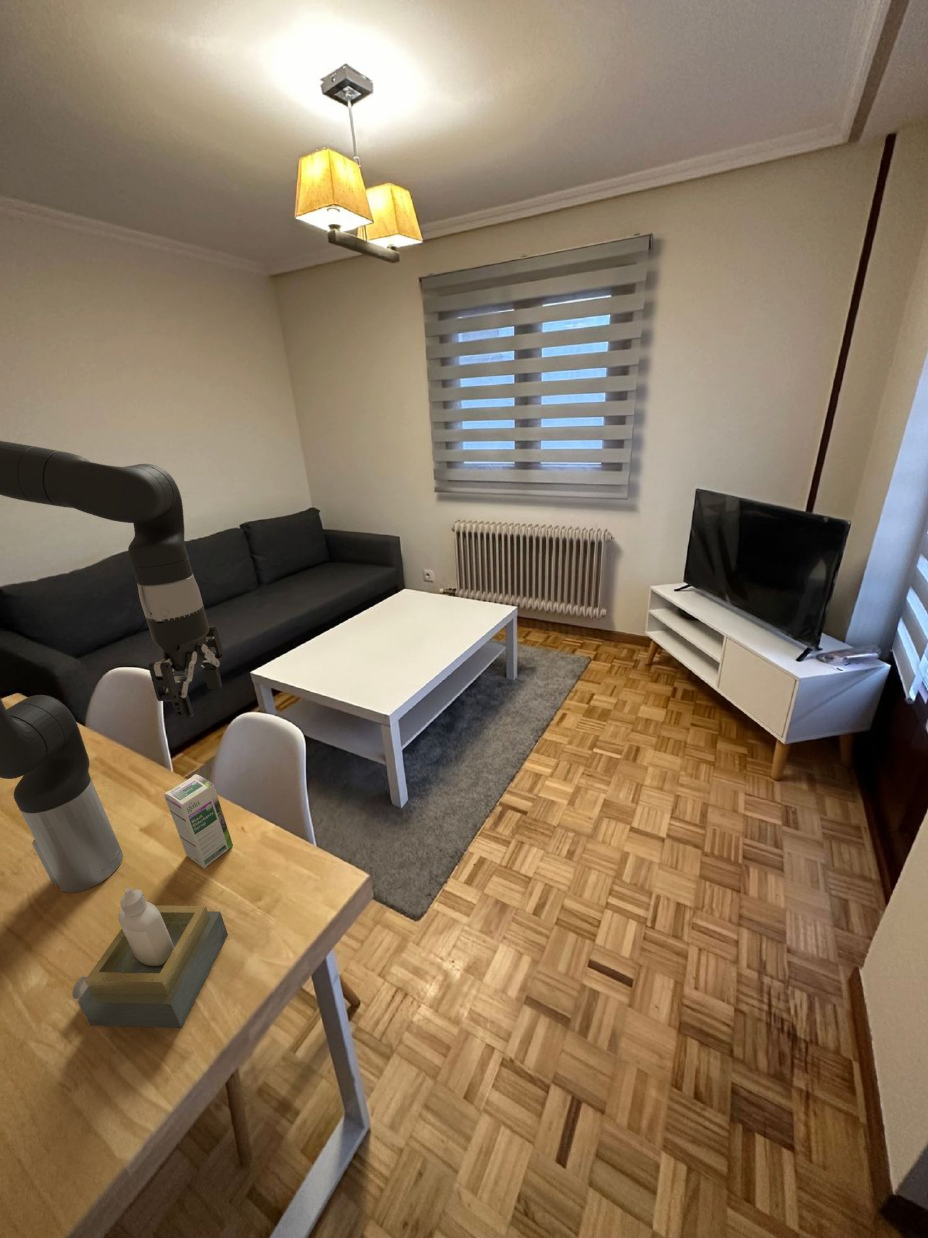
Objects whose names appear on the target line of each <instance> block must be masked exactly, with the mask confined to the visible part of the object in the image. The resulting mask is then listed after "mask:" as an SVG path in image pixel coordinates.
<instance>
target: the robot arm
mask: <svg viewBox="0 0 928 1238" xmlns="http://www.w3.org/2000/svg"><path fill="white" fill-rule="evenodd" d="M0 495H1V496H3V497H7V498H10V499H14V500H19V501H24V502H30V503H35V504H40V505H41V504H43V505H47V506H54V507H61V508H62V507H63V508H69V509H75V510H77V511H80V512H83V513H85V514H88V515H91V516H94V517H98V518H102V519H105V520H108V521H115V522H119V523H126V524H127V523H128V524H133V529H134V536H133V539H132V541H130V543H129V545H128V548H127V553H128V558H129V562H130V563H129V564H130V565H131V568H132V572H133V576H134V578H135V582H136V584H137V591H138V595H139V596H138V597H139V601H140V604H141V608H142V610H143V613H144V616H145V620H146V624H147V626H148V629H149V632H150V635H151V636H150V637H151V639H152V641H153V643H154V644H155V645H157V646H159V647H160V648H161V649H162V659H160V660H159V661H156V662H149V664H148V670H149V675H150V678H151V681H152V686H153V690H154V693H155V696H156V699H157V701H158V702H171V705H172V708H173V711H174V715H175V716H176V717H177V718H178V719H180V720H182V719H183V720H185V719H186V720H187V719H188V720H189V719H191V718H192V717H193V716H194V710H193V707H192V704H191V700H190V697H189V694H188V690H189V689H188V688H189V684H190V683H191V682H192V681H193V676H194V673H195V671H196V670H197V669H198V668H199V667H201V668H203V669H202V673H203V676H204V680H205V684H206V687H207V688H208V689H209V690H219V689H221V688H222V686H223V683H222V677H221V673H220V670H219V667H220V660H221V659H224V657H225V653H224V650H223V645H222V643H221V639H220V636H219V632H218V629H217V627H216V626H215V625H213V626H210V625H209V622H208V619H207V613H206V611H205V610H206V609H205V607H204V603H203V599H202V595H201V592H200V588H199V586H198V583H197V581H196V578H195V576H194V573H193V568H192V566H191V562H190V561H191V560H190V557H189V554H188V550H187V547H186V543H185V521H184V520H185V518H184V508H183V507H184V506H183V505H184V504H183V501H182V496H181V492H180V489H179V487H178V485H177V483H176V480H175V479H174V478H173V477H172V475H171V474H170V473H169V472H167V470H165V469H163V468H162V467H160V466H158V465H156V464H150V463H140V464H133V465H127V466H117V465H116V466H115V465H108V464H102V463H97V462H91V461H90V460H89V459H87V458H85V457H84V456H81V455H80V454H79V455H78V454H75V453H71V452H68V451H67V452H66V451H62V450H56V449H49V448H45V447H38V446H36V445H35V446H33V445H28V444H22V443H16V442H9V441H3V440H0ZM212 648H214V649H215V651H213V650H212ZM175 672H176V673H177V674H183V675H178V676H175ZM177 683H179V689H178V687H177ZM165 688H166V691H165ZM89 769H90V757H89V755H88V752H87V749H86V746H85V743H84V740H83V737H82V732H81V731H80V728H79V725H78V723H77V720H76V718H75V716H74V715H73V714H72V712H71V711H70V709H69V708H68V707H67V706H66V705H65V704H64V703H62V701H60V700H59V699H57V698H55V697H53V696H50V695H44V694H36V695H31V696H28V697H26V698H23V699H22V700H21V701H19V702H17V703H15V704H13V705H12V706H10V707H8V708H6V706H5V705H4V703H3V700H2V699H1V697H0V778H1V779H6V780H13V779H14V780H15V779H18V778H20V780H19V781H18V782H17V785H16V786H15V787H14V791H13V800H14V802H15V803H16V805H17V807H18V809H19V811H20V813H21V816H22V817H23V819H24V821H25V823H26V825H27V826H28V829H29V830H30V833H31V835H32V836H33V837H32V838H34V839H33V841H32V846H33V850H34V851H35V852H36V854H37V856H38V858H39V859H40V863H41V864H42V866H43V868H44V870H45V872H46V873H47V875H48V878H49V879H50V882H51V883H52V884H53V885H58V888H59V889H60V890H61V891H63V892H65V893H79V892H82V891H85V890H88V889H91V888H93V887H95V886H97V885H99V884H101V883H102V882H103V881H105V880H106V879H108V878H109V877H110V876H111V875H112V874H113V873H114V872H115V871H116V870H118V868H119V867H120V865H121V863H122V861H123V858H124V854H123V850H122V848H121V845H120V844H119V841H118V839H117V836H116V834H115V831H114V830H113V827H112V825H111V822H110V820H109V817H108V815H107V812H106V810H105V809H104V805H103V802H102V801H101V798H100V797H99V794H98V791H97V790H96V787H95V785H94V783H93V779H92V777H91V776H90V773H89Z"/></svg>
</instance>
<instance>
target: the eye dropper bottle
mask: <svg viewBox="0 0 928 1238" xmlns="http://www.w3.org/2000/svg"><path fill="white" fill-rule="evenodd" d="M119 904H120V907H121V910H120V911H119V913H118V914H117V915H118V916H117V918H118V919H117V920H118V922H119V924H120V927H121V929H122V930H123V932H124V934H125V936H126V938H127V940H128V943H129V945H130V947H131V949H132V951H133V953H134V955H135V957H136V958H137V960H138V961H139V962H141V963H143V964H145V965H149V966H160V965H162V964H163V963H165V962H166V961H167V959H168V958H169V956H170V955H171V953H172V951H173V950H174V945H173V943H172V940H171V938H170V935H169V933H168V930H167V928H166V926H165V923H164V921H163V919H162V916H161V914H160V912H159V910H158V909H157V908H156V907H155V906H154V904H153V903H151V902H149V901H147V900H146V897H145V896H144V893H143V891H142V890H141V889H132V888H131V887H127V888H126V889H125V890H124V895H123V896H122V898H121V899H120V902H119Z"/></svg>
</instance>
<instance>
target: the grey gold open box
mask: <svg viewBox="0 0 928 1238" xmlns="http://www.w3.org/2000/svg"><path fill="white" fill-rule="evenodd" d="M153 905H154V904H153ZM154 906H155V907H156V908H157V909H158V910H159V912H160V914H161V916H162V919H163V921H164V923H165V926H166V928H167V930H168V933H169V935H170V938H171V940H172V943H173V945H174V950H173V951H172V953H171V955H170V956H169V958H168V959H167V961H166V962H165V963H163V964H162V965H160V966H149V965H145V964H143V963H141V962H139V961H138V960H137V958H136V957H135V955H134V953H133V951H132V949H131V947H130V945H129V943H128V940H127V938H126V936H125V934H124V932H123V930H122V928H121V929H120V930H119V932H118V934H117V935H115V937H114V938H113V940H112V942H111V943H110V945H108V947H107V948H106V950H105V952H104V953H103V954H102V955H101V957H100V959H99V960H98V961H97V962H96V964H95V966H94V967H93V968H92V970H91V971H90V973H89V974H88V975H83V976H81V977H80V978H79V979H78V980H77V981H76V983H75V984H74V986H73V989H72V995H71V996H72V998H73V999H74V1000H78V1001H77V1003H78V1006H79V1008H81V1010H82V1012H83V1014H84V1016H85V1017H86V1019H87V1021H88V1023H89V1025H90V1026H91V1027H93V1026H94V1027H98V1026H99V1027H125V1028H126V1027H129V1028H130V1027H132V1028H135V1027H136V1028H167V1029H168V1028H170V1029H174V1028H175V1029H182V1028H183V1026H184V1024H185V1022H186V1020H187V1018H188V1015H189V1014H190V1012H191V1009H192V1008H193V1006H194V1003H195V1002H196V999H197V997H198V996H199V993H200V992H201V989H202V988H203V986H204V983H205V981H206V979H207V978H208V976H209V974H210V971H211V969H212V967H213V966H214V964H215V961H216V959H217V958H218V955H219V953H220V951H221V950H222V947H223V945H224V943H225V942H226V939H227V937H228V935H229V934H228V930H227V927H226V924H225V921H224V919H223V916H222V913H221V911H217V910H216V911H213V910H211V911H210V910H208V909H207V906H206V905H158V904H157V905H154Z"/></svg>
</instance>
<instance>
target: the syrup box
mask: <svg viewBox="0 0 928 1238" xmlns="http://www.w3.org/2000/svg"><path fill="white" fill-rule="evenodd" d="M163 796H164V799H165V802H166V805H167V808H168V809H169V812H170V815H171V818H172V820H173V824H174V825H175V828H176V830H177V833H178V836H179V839H180V841H181V845H182V847H183V849H184V852H185V855H186V856H187V857H188V858H189V859H191V860H192V861H193V862H195V863H196V864H197V865H199V866H200V867H202V868H203V869H206V868H208V866H209V865H210V864H211V863H213V862H215V860H216V861H217V859H218V858H219V857H221V856H222V855H223V854H224V853H226V852H227V851H229V850H230V849H231V848H232V847H233V846H234V844H233V841H232V839H231V835H230V832H229V829H228V825H227V822H226V818H225V815H224V812H223V810H222V809H223V808H222V806H221V802H220V800H219V797H218V793H217V790H216V788H215V785H214V784H213V783H212V782H210V781H209V780H208V779H206V778H205V777H202V776H201V775H198V774H197V773H195V774H193V775H192V776H191V777H190V778H188V779H186V780H184V781H183V782H181V783H180V784H178V785H176V786H175V787H173V788H171V789H170V790H168V791H166V792H165V793H163Z"/></svg>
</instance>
